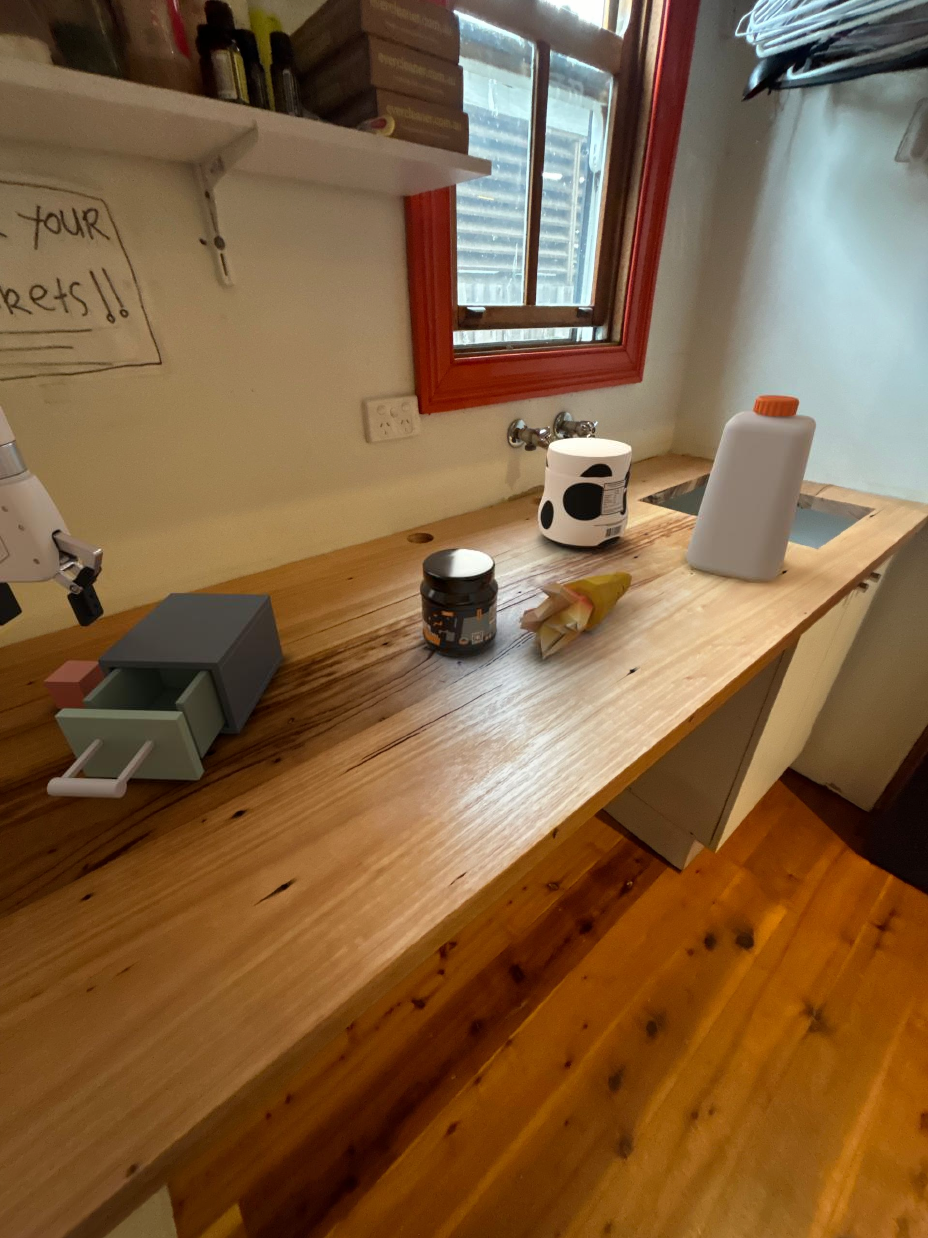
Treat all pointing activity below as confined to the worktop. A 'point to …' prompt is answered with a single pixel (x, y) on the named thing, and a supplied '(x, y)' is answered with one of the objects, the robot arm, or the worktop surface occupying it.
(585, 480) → the milk container
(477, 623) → the supplement container
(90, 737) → the drawer
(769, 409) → the plastic bottle
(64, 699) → the block
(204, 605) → the cabinet
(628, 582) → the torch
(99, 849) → the worktop surface
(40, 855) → the worktop surface
